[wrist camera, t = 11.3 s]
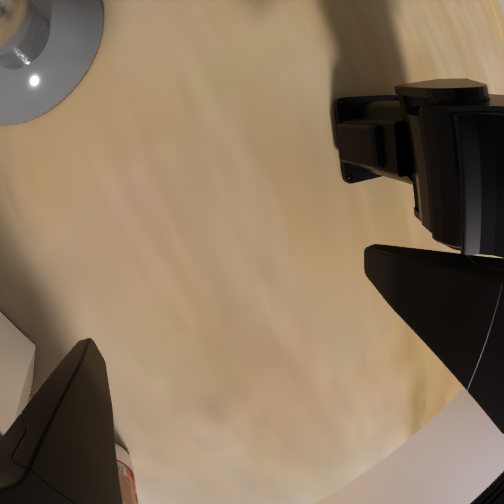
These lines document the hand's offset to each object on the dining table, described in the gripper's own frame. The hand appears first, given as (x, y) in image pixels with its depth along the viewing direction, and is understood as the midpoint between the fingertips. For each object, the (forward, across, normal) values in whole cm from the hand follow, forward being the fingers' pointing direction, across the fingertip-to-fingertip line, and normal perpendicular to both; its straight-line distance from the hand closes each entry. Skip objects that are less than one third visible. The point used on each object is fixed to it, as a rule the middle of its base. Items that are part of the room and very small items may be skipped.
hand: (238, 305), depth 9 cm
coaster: (+12, +8, -14) cm, 20 cm away
